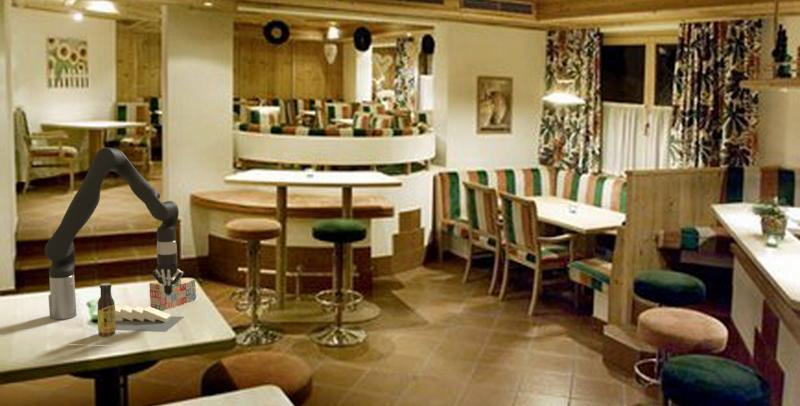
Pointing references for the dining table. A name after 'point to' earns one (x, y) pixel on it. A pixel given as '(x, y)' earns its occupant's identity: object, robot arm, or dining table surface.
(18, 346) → the dining table surface
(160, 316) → the domino
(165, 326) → the mat
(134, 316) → the domino
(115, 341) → the dining table surface
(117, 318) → the domino
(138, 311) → the domino
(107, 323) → the sauce bottle
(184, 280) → the stack of blocks
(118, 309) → the domino
